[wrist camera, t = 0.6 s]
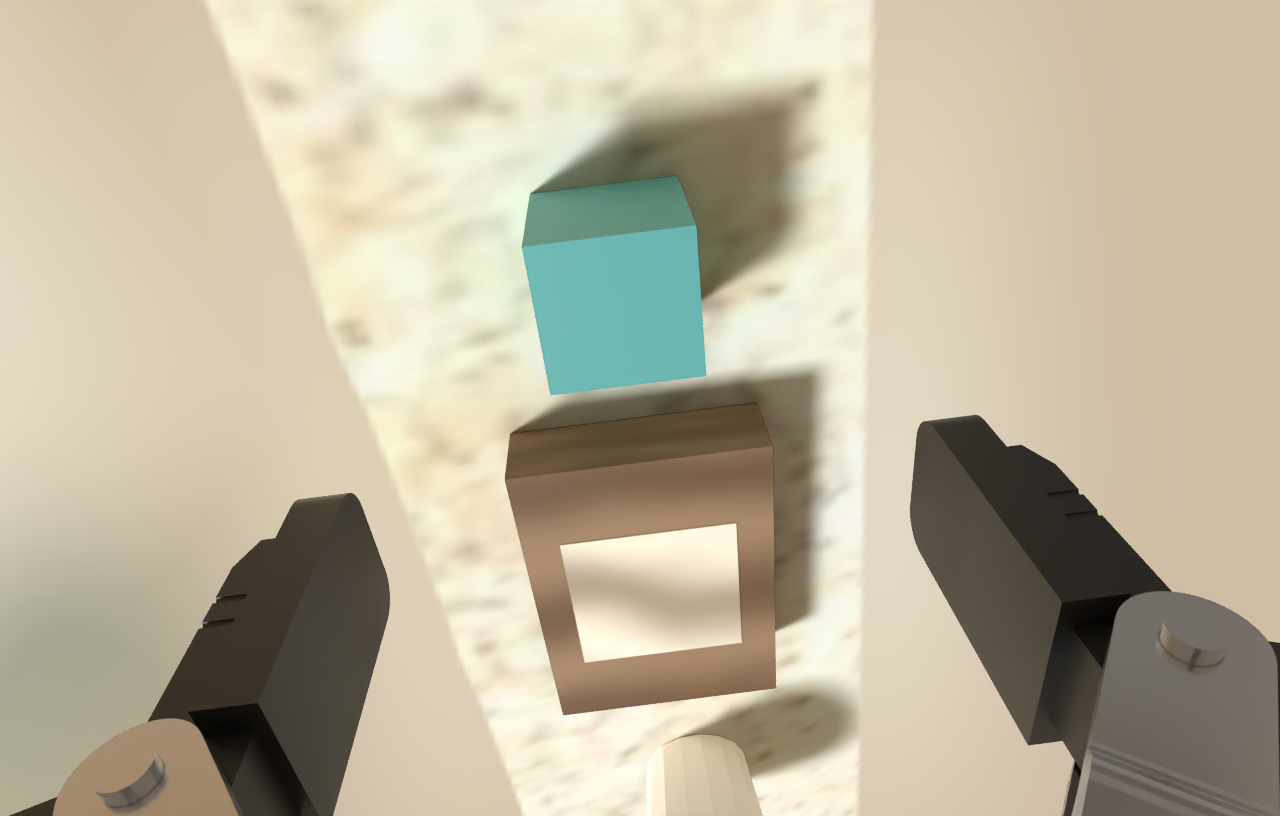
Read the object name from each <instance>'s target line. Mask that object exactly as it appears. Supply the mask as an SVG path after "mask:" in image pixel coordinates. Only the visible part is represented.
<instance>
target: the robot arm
mask: <svg viewBox="0 0 1280 816" xmlns="http://www.w3.org/2000/svg"><path fill="white" fill-rule="evenodd" d="M913 471H914V472H913V481H912V493H911V503H910V518H911V526H912V531H913V535H914V539H915V542H916V545H917V547H918V549H919V551H920V553H921V555H922V557H923V559H924V560H925V562H926V564H927V566H928V568H929V569H930V571H931V573H932V575H933V576H934V578H935V580H936V582H937V583H938V585H939V587H940V589H941V591H942V593H943V594H944V596H945V598H946V600H947V601H948V603H949V605H950V607H951V608H952V610H953V612H954V614H955V616H956V618H957V619H958V621H959V623H960V625H961V626H962V628H963V630H964V632H965V633H966V635H967V637H968V639H969V641H970V642H971V644H972V646H973V648H974V649H975V651H976V653H977V654H978V657H979V658H980V660H981V662H982V664H983V666H984V667H985V669H986V670H987V673H988V674H989V676H990V678H991V680H992V682H993V683H994V685H995V687H996V689H997V690H998V692H999V694H1000V696H1001V698H1002V699H1003V701H1004V703H1005V705H1006V707H1007V708H1008V710H1009V712H1010V714H1011V715H1012V717H1013V719H1014V721H1015V722H1016V724H1017V726H1018V728H1019V730H1020V732H1021V733H1022V735H1023V737H1024V739H1025V740H1026V742H1027V744H1028V745H1034V744H1042V743H1049V742H1057V741H1063V742H1064V743H1065V745H1066V747H1067V749H1068V750H1069V752H1070V754H1071V755H1072V757H1073V758H1074V762H1073V765H1072V769H1071V773H1070V777H1069V781H1068V786H1067V791H1066V795H1065V800H1064V805H1063V810H1062V814H1061V816H1280V643H1276V642H1269V641H1267V639H1266V638H1265V637H1264V636H1263V635H1262V634H1261V632H1260V631H1259V630H1258V629H1257V628H1256V627H1254V626H1253V625H1252V624H1251V623H1249V622H1248V621H1247V620H1246V619H1244V618H1243V617H1241V616H1240V615H1238V614H1237V613H1235V612H1233V611H1231V610H1230V609H1228V608H1226V607H1224V606H1222V605H1219V604H1217V603H1215V602H1212V601H1210V600H1207V599H1204V598H1201V597H1198V596H1194V595H1189V594H1185V593H1179V592H1172V591H1171V590H1170V589H1169V588H1168V587H1167V586H1166V584H1165V583H1164V582H1163V581H1162V580H1161V579H1160V578H1159V577H1158V576H1157V575H1156V574H1155V572H1154V571H1153V570H1152V569H1151V568H1150V567H1149V566H1148V565H1147V564H1146V563H1145V562H1144V560H1143V559H1142V558H1141V557H1140V556H1139V555H1138V554H1137V553H1136V552H1135V551H1134V550H1133V548H1132V547H1131V546H1130V545H1129V544H1128V543H1127V542H1126V541H1125V540H1124V539H1123V538H1122V537H1121V535H1120V534H1119V533H1118V532H1117V531H1116V530H1115V529H1114V528H1113V527H1112V525H1111V524H1110V523H1109V522H1108V521H1107V520H1106V519H1105V518H1104V517H1103V516H1102V515H1101V516H1099V515H1098V513H1097V509H1096V508H1095V507H1094V506H1093V505H1092V504H1091V503H1090V501H1089V500H1088V499H1087V498H1086V497H1085V496H1084V495H1083V494H1082V495H1080V494H1079V492H1078V488H1077V487H1076V486H1075V485H1074V484H1073V483H1072V482H1071V481H1070V480H1069V478H1068V477H1067V476H1066V475H1065V474H1064V473H1063V472H1062V471H1061V470H1060V469H1059V468H1058V467H1057V466H1056V464H1054V463H1052V462H1051V461H1049V460H1047V459H1045V458H1043V457H1042V456H1040V455H1038V454H1036V453H1035V452H1033V451H1031V450H1029V449H1028V448H1026V447H1024V446H1022V445H1017V446H1009V447H1007V446H1006V445H1005V444H1004V443H1003V442H1002V441H1001V440H1000V438H999V437H998V436H997V435H996V433H995V432H994V431H993V430H992V429H991V428H990V426H989V425H988V424H987V423H986V422H985V420H984V419H982V418H981V417H980V416H978V415H971V416H964V417H956V418H948V419H940V420H932V421H924V422H922V423H921V424H920V426H919V428H918V432H917V438H916V450H915V459H914V470H913ZM216 599H217V600H216V603H214V604H212V606H211V607H210V609H209V611H208V613H207V615H206V617H205V618H204V620H203V622H202V623H203V628H202V629H198V631H197V633H196V635H195V637H194V638H193V640H192V642H191V644H190V646H189V648H188V649H187V651H186V653H185V655H184V657H183V659H182V660H181V662H180V664H179V666H178V668H177V669H176V671H175V673H174V675H173V677H172V679H171V680H170V682H169V684H168V686H167V688H166V689H165V691H164V693H163V695H162V697H161V698H160V700H159V702H158V704H157V706H156V708H155V709H154V711H153V713H152V715H151V717H150V718H149V720H148V722H146V723H143V724H140V725H138V726H135V727H133V728H130V729H128V730H126V731H124V732H122V733H120V734H118V735H117V736H115V737H113V738H112V739H110V740H109V741H107V742H105V743H104V744H103V745H101V746H100V747H99V748H97V749H96V750H95V751H94V752H92V753H91V754H90V755H89V756H88V757H87V758H86V759H85V760H84V761H82V763H81V764H80V765H79V766H78V767H77V768H76V769H75V770H74V771H73V773H72V774H71V775H70V777H69V778H68V779H67V781H66V782H65V784H64V785H63V787H62V789H61V791H60V793H59V795H58V797H56V798H54V799H51V800H48V801H46V802H43V803H41V804H38V805H35V806H33V807H31V808H28V809H25V810H23V811H20V812H18V813H15V814H12V815H10V816H333V813H334V809H335V806H336V803H337V799H338V795H339V792H340V788H341V785H342V781H343V777H344V774H345V770H346V767H347V763H348V760H349V756H350V753H351V749H352V745H353V742H354V738H355V734H356V731H357V727H358V724H359V720H360V716H361V713H362V709H363V705H364V702H365V699H366V695H367V691H368V688H369V684H370V681H371V677H372V673H373V669H374V666H375V663H376V659H377V655H378V652H379V648H380V645H381V641H382V638H383V634H384V630H385V626H386V623H387V620H388V615H389V607H390V591H389V583H388V578H387V574H386V571H385V568H384V566H383V563H382V560H381V557H380V555H379V552H378V549H377V546H376V544H375V541H374V538H373V535H372V533H371V530H370V527H369V525H368V522H367V519H366V516H365V514H364V511H363V508H362V506H361V503H360V501H359V500H358V498H357V497H356V496H355V495H354V494H352V493H346V494H339V495H331V496H323V497H315V498H307V499H299V500H297V501H295V502H294V503H293V505H292V506H291V508H290V510H289V512H288V514H287V516H286V518H285V520H284V522H283V524H282V526H281V528H280V530H279V532H278V534H277V536H276V538H274V539H267V540H261V541H260V542H259V543H258V544H257V545H256V546H255V547H254V548H253V549H252V550H250V551H249V552H248V553H247V554H246V555H245V556H244V557H243V558H242V559H241V560H240V561H239V562H238V563H237V564H236V565H235V566H234V567H233V568H232V569H231V571H230V573H229V575H228V577H227V578H226V580H225V582H224V584H223V586H222V587H221V589H220V591H219V593H218V595H217V596H216Z"/></svg>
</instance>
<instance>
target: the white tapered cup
mask: <svg viewBox="0 0 1280 816" xmlns="http://www.w3.org/2000/svg"><path fill="white" fill-rule="evenodd" d="M646 816H763V815H762V812H761V809H760V805H759V802H758V799H757V796H756V792H755V789H754V786H753V782H752V779H751V776H750V773H749V769H748V766H747V763H746V759H745V756H744V753H743V751H742V750H741V749H740V748H739V747H738V746H737V745H736V744H735V742H733V741H730V740H728V739H725V738H723V737H720V736H714V735H703V734H698V735H692V736H686V737H680V738H678V739H675V740H673V741H671V742H669V743H666V744H664V745H662V746H661V747H660V748H659V749H658V750H657V751H656V752H655V753H653V754H652V755H651V757H650V760H649V762H648V765H647V773H646Z"/></svg>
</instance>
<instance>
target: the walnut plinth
mask: <svg viewBox="0 0 1280 816" xmlns="http://www.w3.org/2000/svg"><path fill="white" fill-rule="evenodd" d="M505 483H506V487H507V491H508V495H509V499H510V503H511V507H512V511H513V515H514V519H515V523H516V527H517V531H518V535H519V539H520V543H521V547H522V551H523V555H524V559H525V563H526V567H527V571H528V575H529V579H530V583H531V587H532V591H533V595H534V599H535V603H536V607H537V611H538V615H539V619H540V624H541V628H542V632H543V636H544V640H545V644H546V648H547V652H548V656H549V660H550V664H551V668H552V672H553V676H554V680H555V684H556V688H557V692H558V696H559V700H560V704H561V708H562V712H563V715H569V714H577V713H585V712H593V711H601V710H609V709H617V708H624V707H632V706H640V705H648V704H656V703H664V702H671V701H679V700H687V699H695V698H703V697H711V696H719V695H726V694H734V693H742V692H750V691H758V690H766V689H774V688H776V658H775V578H774V498H773V445H772V442H771V440H770V437H769V434H768V432H767V429H766V426H765V423H764V421H763V418H762V415H761V413H760V410H759V407H758V405H757V403H753V404H745V405H737V406H729V407H721V408H713V409H705V410H697V411H689V412H681V413H673V414H665V415H657V416H649V417H641V418H633V419H625V420H617V421H609V422H601V423H593V424H585V425H577V426H569V427H561V428H553V429H545V430H537V431H529V432H521V433H513V434H510V440H509V448H508V457H507V465H506V473H505Z"/></svg>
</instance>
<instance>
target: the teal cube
mask: <svg viewBox="0 0 1280 816" xmlns="http://www.w3.org/2000/svg"><path fill="white" fill-rule="evenodd" d="M522 250H523V255H524V260H525V265H526V270H527V276H528V281H529V286H530V291H531V296H532V301H533V307H534V312H535V317H536V322H537V327H538V332H539V338H540V343H541V348H542V353H543V358H544V363H545V369H546V374H547V379H548V384H549V389H550V394H551V395H556V394H564V393H572V392H580V391H588V390H596V389H604V388H612V387H620V386H628V385H636V384H644V383H652V382H660V381H668V380H676V379H685V378H693V377H701V376H706V365H705V349H704V334H703V319H702V304H701V288H700V273H699V258H698V243H697V227H696V223H695V220H694V218H693V215H692V213H691V210H690V207H689V205H688V202H687V200H686V197H685V194H684V192H683V189H682V187H681V184H680V181H679V179H678V176H669V177H661V178H653V179H645V180H637V181H629V182H621V183H613V184H604V185H596V186H588V187H580V188H572V189H564V190H556V191H548V192H540V193H532V194H530V197H529V204H528V210H527V217H526V223H525V230H524V237H523V243H522Z"/></svg>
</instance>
